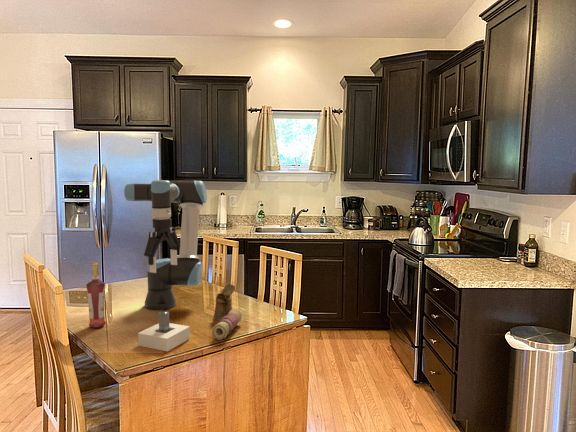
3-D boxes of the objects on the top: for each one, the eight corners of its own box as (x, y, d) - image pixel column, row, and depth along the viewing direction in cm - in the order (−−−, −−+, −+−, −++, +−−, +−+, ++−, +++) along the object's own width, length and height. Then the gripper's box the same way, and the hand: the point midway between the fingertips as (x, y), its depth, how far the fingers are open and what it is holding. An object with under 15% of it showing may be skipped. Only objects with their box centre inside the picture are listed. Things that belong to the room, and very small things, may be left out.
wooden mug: (221, 326, 189) (220, 285, 188) (210, 317, 201) (210, 279, 199) (240, 322, 194) (239, 283, 192) (228, 314, 206) (228, 276, 204)
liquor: (105, 328, 186) (103, 264, 183) (87, 330, 184) (84, 265, 181) (107, 322, 193) (105, 260, 190) (89, 324, 191) (86, 261, 188)
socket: (138, 345, 168) (137, 333, 167) (162, 333, 181) (162, 321, 180) (167, 351, 162) (167, 338, 162) (190, 338, 175) (189, 326, 175)
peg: (157, 342, 170) (156, 313, 169) (163, 339, 174) (163, 310, 173) (165, 344, 169) (164, 314, 168) (171, 341, 173) (171, 311, 171)
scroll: (224, 319, 194) (205, 335, 174) (231, 305, 192) (212, 320, 173) (239, 327, 192) (221, 345, 173) (246, 313, 191) (228, 329, 172)
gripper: (148, 222, 165) (150, 276, 168) (187, 214, 188) (189, 262, 191) (133, 221, 168) (135, 274, 171) (173, 213, 191) (175, 260, 194)
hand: (163, 268), depth 181 cm, fingers open, 13 cm apart
